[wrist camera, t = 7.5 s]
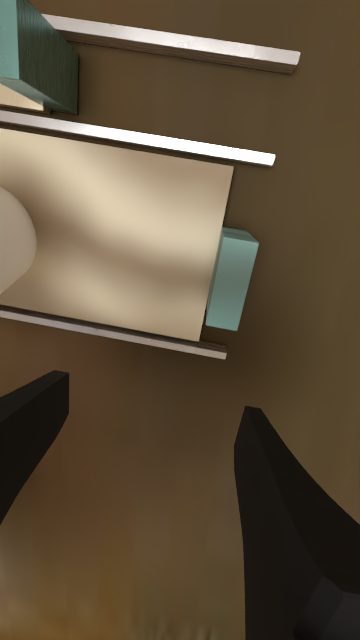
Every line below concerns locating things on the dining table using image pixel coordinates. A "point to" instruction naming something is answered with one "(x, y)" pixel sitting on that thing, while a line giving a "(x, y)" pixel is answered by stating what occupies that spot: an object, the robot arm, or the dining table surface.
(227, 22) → the dining table surface
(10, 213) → the cup
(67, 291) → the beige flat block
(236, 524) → the dining table surface
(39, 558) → the dining table surface
